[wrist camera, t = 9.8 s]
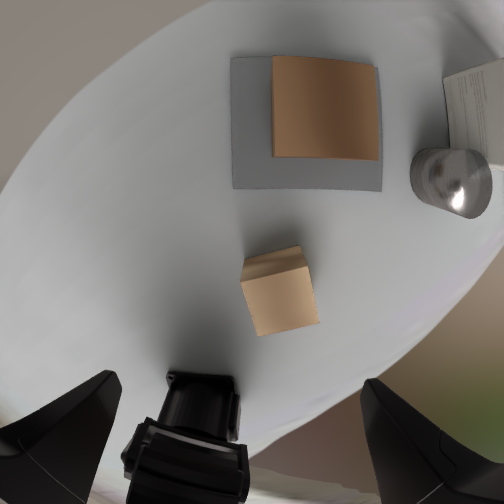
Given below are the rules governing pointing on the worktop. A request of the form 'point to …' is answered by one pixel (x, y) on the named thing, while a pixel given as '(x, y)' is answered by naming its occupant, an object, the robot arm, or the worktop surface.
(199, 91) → the worktop surface
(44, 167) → the worktop surface
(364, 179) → the slate mat
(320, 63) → the walnut block
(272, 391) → the worktop surface
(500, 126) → the supplement box
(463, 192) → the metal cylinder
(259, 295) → the beech block
